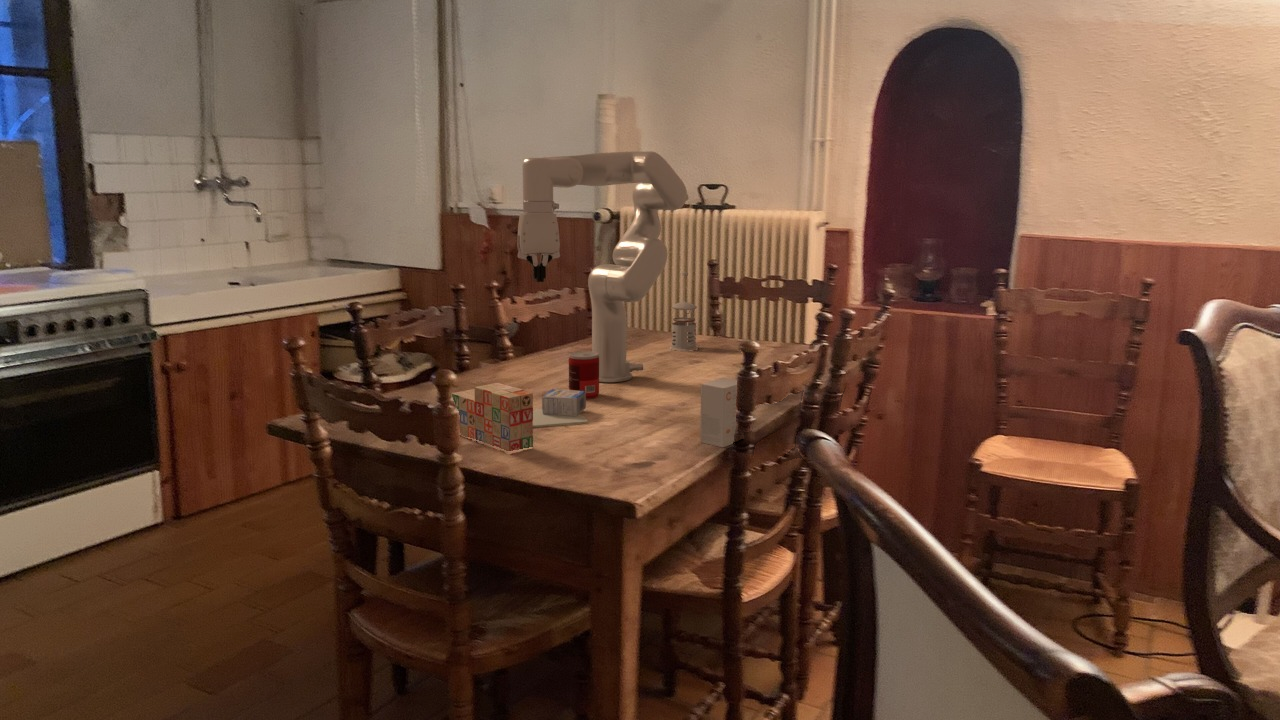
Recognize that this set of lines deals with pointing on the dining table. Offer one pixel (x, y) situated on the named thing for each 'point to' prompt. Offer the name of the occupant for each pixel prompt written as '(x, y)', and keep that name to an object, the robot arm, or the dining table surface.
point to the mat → (555, 419)
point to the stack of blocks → (497, 415)
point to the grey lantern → (684, 327)
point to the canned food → (584, 372)
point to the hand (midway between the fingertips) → (539, 281)
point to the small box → (718, 412)
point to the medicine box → (563, 402)
